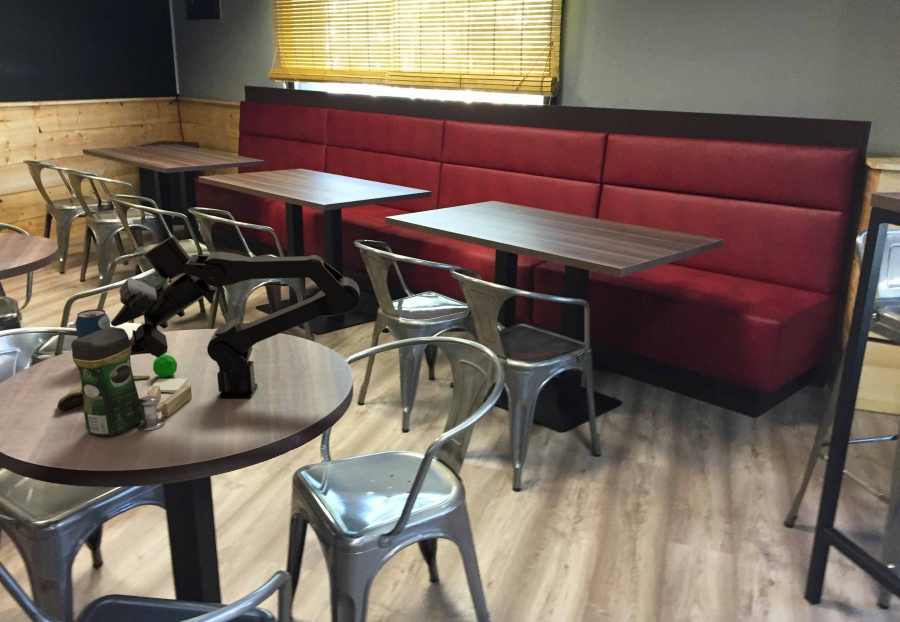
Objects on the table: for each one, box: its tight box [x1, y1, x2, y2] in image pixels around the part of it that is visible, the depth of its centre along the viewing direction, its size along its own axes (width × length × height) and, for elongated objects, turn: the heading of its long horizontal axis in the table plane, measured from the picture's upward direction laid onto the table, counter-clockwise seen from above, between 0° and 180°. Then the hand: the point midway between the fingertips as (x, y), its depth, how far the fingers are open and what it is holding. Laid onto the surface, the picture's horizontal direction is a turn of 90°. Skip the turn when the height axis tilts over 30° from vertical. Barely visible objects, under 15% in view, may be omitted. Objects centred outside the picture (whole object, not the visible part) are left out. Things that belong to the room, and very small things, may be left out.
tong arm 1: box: [147, 385, 162, 406], centre depth 144 cm, size 2×11×3 cm, turn 12°
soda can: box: [75, 308, 111, 339], centre depth 167 cm, size 7×7×12 cm
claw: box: [57, 375, 151, 413], centre depth 152 cm, size 20×10×3 cm, turn 167°
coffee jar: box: [70, 326, 143, 437], centre depth 135 cm, size 10×8×19 cm
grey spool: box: [136, 395, 166, 432], centre depth 138 cm, size 5×5×5 cm
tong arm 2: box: [157, 384, 193, 417], centre depth 144 cm, size 2×11×3 cm, turn 170°
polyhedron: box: [152, 353, 178, 379], centre depth 161 cm, size 5×5×5 cm
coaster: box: [147, 378, 188, 394], centre depth 155 cm, size 6×6×1 cm
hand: (113, 339), depth 146 cm, fingers open, 9 cm apart
